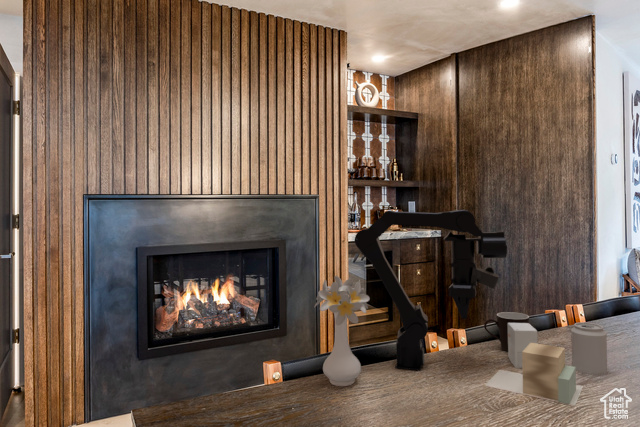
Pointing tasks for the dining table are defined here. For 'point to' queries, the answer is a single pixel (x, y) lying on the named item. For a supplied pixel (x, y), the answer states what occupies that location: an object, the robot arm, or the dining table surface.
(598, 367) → the can
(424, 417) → the dining table surface
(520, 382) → the laminate slab
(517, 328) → the small box
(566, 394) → the board
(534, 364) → the oak block
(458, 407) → the dining table surface
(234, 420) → the dining table surface
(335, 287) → the flower vase
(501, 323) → the coffee mug
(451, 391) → the dining table surface
